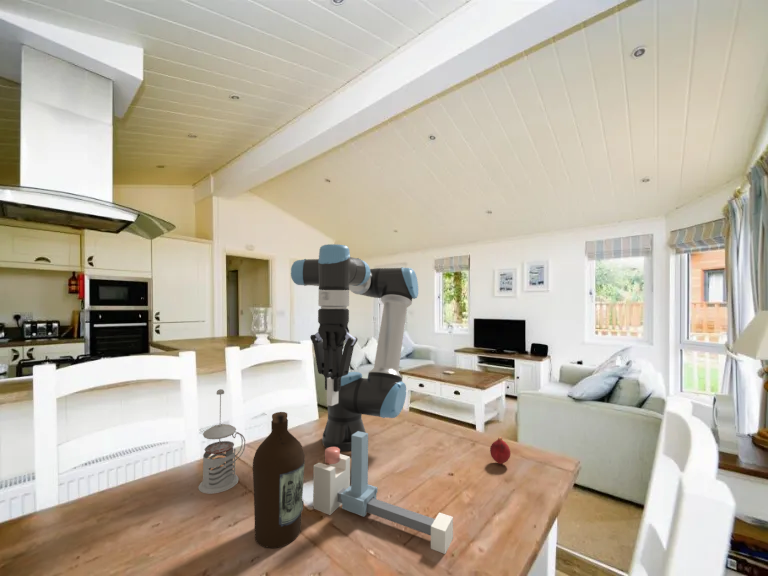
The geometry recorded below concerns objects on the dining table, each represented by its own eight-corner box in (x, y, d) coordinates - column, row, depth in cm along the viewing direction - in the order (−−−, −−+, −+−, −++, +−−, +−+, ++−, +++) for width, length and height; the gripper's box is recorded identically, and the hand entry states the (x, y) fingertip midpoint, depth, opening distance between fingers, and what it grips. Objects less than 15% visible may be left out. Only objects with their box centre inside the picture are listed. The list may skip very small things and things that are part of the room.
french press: (192, 483, 91) (194, 389, 92) (235, 467, 100) (237, 381, 100) (206, 498, 84) (208, 397, 85) (251, 480, 93) (252, 387, 93)
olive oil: (240, 539, 70) (242, 417, 71) (278, 510, 80) (280, 403, 80) (277, 558, 65) (279, 427, 66) (314, 525, 75) (315, 411, 75)
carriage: (340, 509, 78) (341, 436, 78) (356, 495, 83) (356, 427, 84) (362, 518, 75) (363, 442, 75) (377, 502, 81) (377, 432, 81)
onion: (511, 470, 99) (511, 442, 99) (491, 467, 100) (491, 440, 100) (508, 460, 105) (508, 434, 105) (489, 458, 106) (489, 432, 106)
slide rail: (313, 508, 81) (313, 465, 81) (333, 491, 88) (334, 452, 88) (442, 559, 65) (442, 506, 66) (455, 533, 72) (455, 486, 73)
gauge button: (321, 461, 83) (321, 451, 83) (331, 455, 86) (331, 445, 86) (333, 465, 81) (333, 454, 81) (342, 459, 84) (342, 448, 84)
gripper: (303, 307, 84) (301, 404, 83) (346, 308, 78) (345, 413, 77) (322, 306, 90) (321, 396, 90) (364, 307, 84) (363, 404, 84)
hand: (332, 403), depth 83 cm, fingers closed
